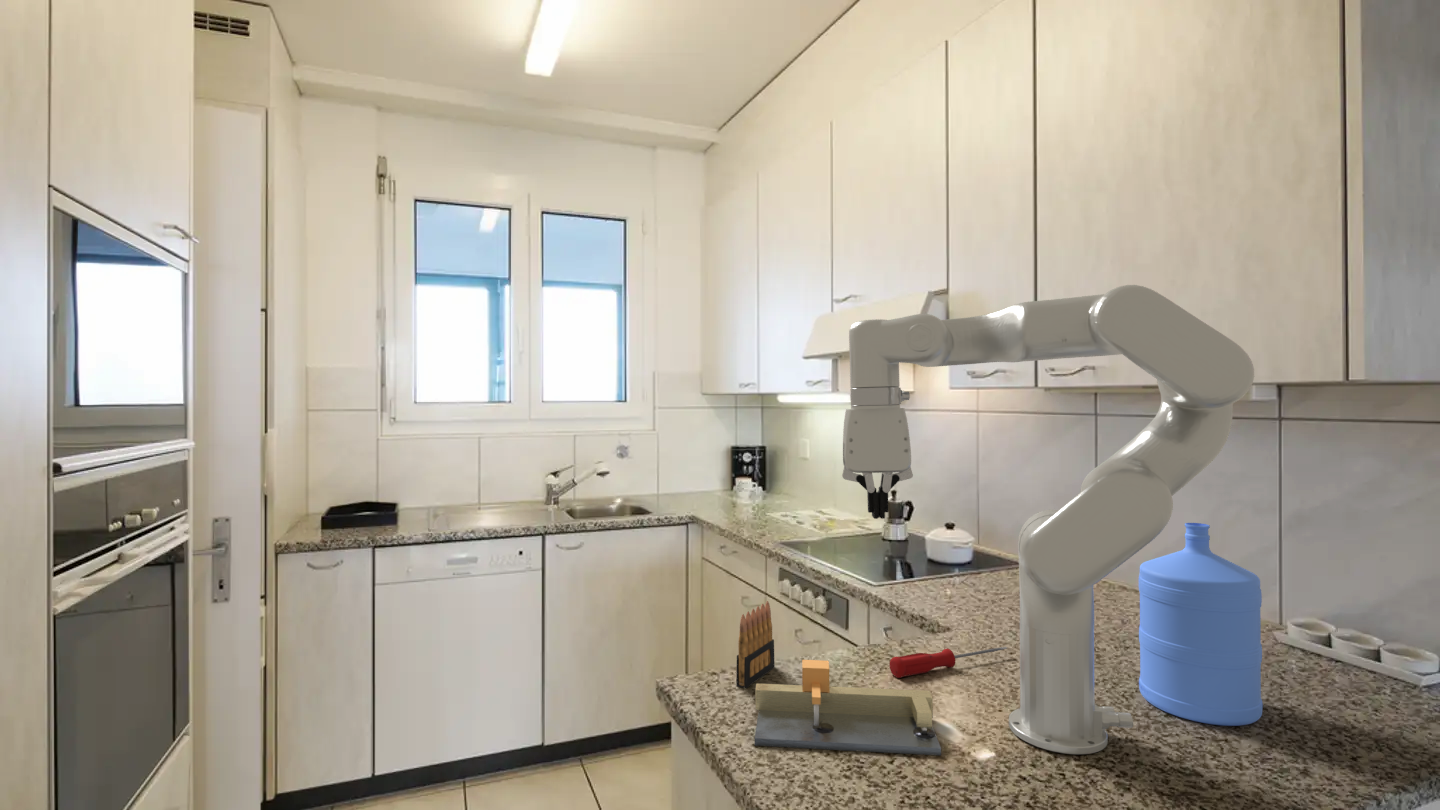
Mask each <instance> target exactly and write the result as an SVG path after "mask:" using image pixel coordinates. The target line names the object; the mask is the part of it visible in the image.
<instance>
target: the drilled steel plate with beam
mask: <svg viewBox="0 0 1440 810" xmlns="http://www.w3.org/2000/svg"><path fill="white" fill-rule="evenodd" d="M829 689H830V692H820V694H821V705H819V726H815V725H814V704H812V692H811V691H802V684H799V685H797V684H782V683H781V684H777V683H755V692H754V693H755V695H754V696H755V697H754V699H755V710H756V711H758V713H757V720H756V727H755V733H754V746H759V747H777V748H794V749H795V748H798V749H813V750H814V749H815V750H830V751H831V750H834V751H850V752H852V751H853V752H872V753H888V754H891V753H892V754H904V755H905V754H907V755H911V754H912V755H923V754H924V755H926V756H942V747H941V745H940V742H939V740H938V736H937V735H936V732H935V729H934V727H933V717H934V716H933V712H934V711H933V707H934V706H933V696H932V693H931V691H930V690H924V689H923V690H921V689H898V688H897V689H896V688H894V689H893V688H873V687H852V686H851V687H848V686H845V687H844V686H829Z"/></svg>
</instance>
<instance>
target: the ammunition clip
mask: <svg viewBox="0 0 1440 810" xmlns="http://www.w3.org/2000/svg"><path fill="white" fill-rule="evenodd" d="M738 632H739V633H738V635H739V636H738V643H737V644H738V654H737V655H736V675H735V676H736V680H735V681H736V682H735V683H736V685H735V686H736V687H738V688H743V689H747V688H749V687H750V686H751V685H753V684H754V683H755V682H757V681H759V680H760V679H761V678H762V677H764V676H765V675H766V674H767V673H769V672H771V671H772V670H773V669H774V668H775V640H774V639H773V624H772V612H771V606H770V603H769V601H768V600H767V601H765V604H764V603H761V605H760V606H759V605H757V607H756V609H755V608H752V610H751V612H750V611H747V613H746V615H744V613H742V614H741V617H740V621H739V631H738Z"/></svg>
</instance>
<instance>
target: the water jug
mask: <svg viewBox="0 0 1440 810" xmlns="http://www.w3.org/2000/svg"><path fill="white" fill-rule="evenodd" d="M1184 527H1185V533H1184V538H1185V545H1184V546H1185V547H1184V548H1183V549H1182V550H1178V551H1176V552H1175V551H1174V552H1172V553H1167V554H1165V555H1162V556H1158V557H1156V558H1152V559H1149V560H1146V561H1143V562H1142V563H1141V564H1140V565H1139V574H1138V591H1139V626H1138V641H1139V654H1140V655H1139V656H1140V657H1139V659H1140V660H1139V663H1140V665H1139V667H1140V668H1139V673H1140V674H1139V677H1138V678H1139V679H1138V687H1139V688H1138V689H1139V692H1140V694H1141V696H1142V697H1143V698H1144V699H1145V700H1146V701H1147V702H1148V703H1150V704H1151V705H1152V706H1153V707H1156V708H1157V709H1159V710H1161V711H1164V712H1165V713H1168V714H1170V715H1173V716H1176V717H1179V718H1182V719H1185V720H1190V721H1193V722H1197V723H1202V724H1208V725H1215V726H1224V727H1225V726H1226V727H1227V726H1228V727H1232V726H1233V727H1237V726H1238V727H1239V726H1246V725H1250V724H1253V723H1255V722H1257V721H1258V720H1259V719H1260V718H1261V717H1262V715H1263V707H1264V706H1263V705H1264V704H1263V703H1264V702H1263V699H1262V684H1261V683H1262V682H1261V681H1262V676H1261V675H1262V673H1261V671H1262V669H1261V665H1262V661H1263V646H1262V642H1261V641H1262V640H1261V639H1262V637H1261V636H1262V634H1261V633H1262V631H1261V629H1262V628H1261V627H1262V625H1261V622H1262V621H1261V620H1262V618H1261V608H1262V602H1263V596H1262V595H1263V594H1262V589H1261V579H1260V577H1259V576H1258V575H1257V574H1255V573H1254V572H1252V571H1250V570H1249V569H1246V568H1244V567H1242V566H1240V565H1239V564H1236V563H1234V562H1232V561H1230V560H1227V559H1225V558H1224V557H1222V556H1220V555H1217V554H1215V553H1213V551H1212V550H1211V549H1210V538H1211V537H1210V535H1209V530H1210V527H1211V526H1210V525H1209V524H1206V523H1199V522H1185V523H1184Z"/></svg>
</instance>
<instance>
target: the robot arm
mask: <svg viewBox="0 0 1440 810" xmlns="http://www.w3.org/2000/svg"><path fill="white" fill-rule="evenodd" d="M848 342H849V343H848V344H849V345H848V346H849V347H848V349H849V380H850V381H849V383H850V384H849V386H850V387H849V388H850V409H849V408H847V409H846V408H845V413H844V414H845V415H844V421H843V429H842V431H843V434H842V435H843V436H842V465H843V469H842V470H843V471H842V475H841V476H842V477H841V478H842V479H844V480H847V481H850V482H855V483H859V484H860V486H861V487H862V488H864V490H866V493H867V512H868V513H869V514H870V513H871V517H872V518H873V519H879V518H880V519H882V520H883V519H884V520H885V519H886V513H889V510H890V509H889V493H890V492H891V489H892V488H893V487H895V485H896V484H897V483H898V482H902V481H906V480H910V479H912V478H913V476H914V474H913V470H912V450H911V448H912V447H911V439H910V432H909V431H910V430H909V423H908V418H907V413H906V409H905V407H901V405H902V403H903V402H904V401H910V398H911V397H910V396H911V395H910V391H905V390H903V389H902V388H901V387H900V363H902V364H903V363H904V364H912V365H913V364H914V365H918V366H921V367H924V368H925V367H926V368H935V367H936V368H937V367H946V366H948V367H950V366H958V365H959V366H960V365H962V366H963V365H975V364H986V363H987V364H989V363H1019V362H1020V363H1022V362H1032V361H1036V362H1037V361H1048V360H1060V359H1074V358H1089V357H1091V358H1093V357H1105V356H1115V355H1116V356H1118V355H1119V356H1120V355H1122V356H1123V357H1125V358H1126V359H1128V360H1129V361H1131V362H1132V363H1133V364H1135V365H1136V366H1137V367H1139V368H1140V369H1142V370H1143V371H1144V372H1146V373H1148V374H1149V375H1151V376H1152V377H1154V378H1155V379H1156V383H1157V387H1158V390H1159V394H1160V405H1159V408H1158V411H1157V413H1156V415H1155V416H1154V417H1153V419H1152V420H1151V421H1150V422H1149V423H1148V424H1147V425H1146V426H1145V427H1144V428H1143V429H1142V430H1140V432H1138V433H1137V434H1136V435H1135V436H1134V437H1133V438H1132V439H1131V440H1130V441H1128V442H1127V443H1126V444H1125V445H1123V446H1122V447H1121V448H1119V449H1118V450H1117V451H1116V452H1115V453H1113V454H1112V455H1111V456H1109V457H1108V458H1107V459H1106V460H1104V461H1103V462H1101V464H1098V466H1096V467H1095V468H1093V469H1092V470H1091V471H1089V472H1088V473H1087V475H1086V476H1085V477H1084V479H1083V481H1082V483H1081V485H1080V492H1079V493H1077V494H1076V495H1075V496H1074V497H1073V498H1072V499H1070V500H1069V501H1068V502H1067V503H1066V504H1065V505H1063V506H1062V507H1061V508H1059V509H1044V510H1041V511H1039V512H1036V513H1034V514H1033V515H1031V516H1030V517H1029V518H1028V519H1027V520H1026V521H1025V522H1024V523H1023V525H1022V526H1021V529H1020V531H1019V535H1018V541H1017V550H1018V551H1017V553H1018V556H1017V557H1018V577H1019V578H1018V580H1019V581H1018V583H1019V688H1020V689H1019V691H1020V692H1019V694H1020V695H1019V697H1020V698H1019V701H1020V702H1019V703H1020V705H1019V706H1020V707H1019V708H1016V709H1014V710H1013V711H1012V712H1011V713H1010V714H1009V716H1008V727H1009V729H1010V731H1011V732H1012V733H1014V735H1015V736H1017V737H1018V738H1019V739H1021V740H1022V741H1024V742H1026V743H1028V744H1030V745H1031V746H1032V745H1033V746H1035V747H1037V748H1040V749H1043V750H1047V751H1050V752H1054V753H1060V754H1067V755H1088V754H1089V755H1090V754H1094V753H1098V752H1100V751H1102V750H1104V749H1105V748H1107V745H1108V743H1109V742H1108V737H1109V735H1108V733H1107V730H1108V729H1109V728H1110V727H1118V728H1126V729H1127V728H1128V729H1132V728H1133V727H1134V720H1133V719H1134V718H1133V715H1132V714H1131V713H1130V712H1122V711H1121V712H1117V711H1115V708H1114V707H1113V706H1107V705H1106V706H1105V705H1103V706H1098V705H1097V703H1095V598H1094V597H1095V593H1094V585H1096V584H1097V583H1099V582H1100V581H1102V580H1103V579H1104V578H1105V577H1107V576H1109V574H1111V573H1112V572H1114V570H1116V569H1117V568H1119V567H1120V566H1121V565H1123V564H1124V563H1125V562H1126V561H1128V560H1129V559H1131V558H1132V557H1133V556H1134V555H1136V554H1137V553H1138V552H1140V551H1141V550H1142V549H1144V548H1145V547H1146V546H1147V545H1149V544H1150V543H1151V542H1152V541H1154V540H1155V538H1157V537H1158V536H1159V535H1160V534H1161V533H1162V531H1163V530H1164V529H1165V528H1166V526H1167V525H1168V524H1169V522H1170V520H1171V518H1172V513H1173V510H1174V509H1173V508H1174V503H1173V502H1174V501H1173V496H1174V495H1175V494H1177V493H1178V492H1179V491H1180V490H1181V489H1184V487H1185V486H1186V485H1187V484H1188V483H1190V482H1191V481H1192V480H1193V479H1194V478H1195V477H1196V476H1198V475H1199V474H1200V473H1201V472H1202V471H1203V470H1205V469H1206V468H1207V467H1208V466H1210V464H1211V463H1212V462H1213V461H1214V460H1215V459H1216V458H1217V456H1219V454H1220V453H1221V451H1222V449H1223V448H1224V446H1225V445H1226V443H1227V441H1228V439H1229V438H1228V437H1229V435H1230V432H1231V428H1232V424H1233V416H1234V415H1233V414H1234V408H1233V407H1234V406H1233V405H1234V403H1236V402H1238V401H1239V400H1241V399H1242V398H1243V397H1245V395H1246V394H1247V393H1248V392H1249V391H1250V389H1251V387H1252V385H1253V383H1254V379H1255V368H1254V364H1253V361H1252V359H1251V358H1250V355H1249V354H1248V353H1247V352H1246V351H1245V350H1244V348H1243V347H1241V346H1240V345H1239V344H1238V343H1237V342H1235V341H1233V339H1231V338H1230V337H1227V336H1226V335H1225V334H1223V333H1222V332H1219V331H1218V330H1217V329H1215V328H1213V327H1212V326H1210V325H1209V324H1207V323H1206V322H1204V321H1202V320H1201V319H1199V318H1198V317H1196V316H1195V315H1193V314H1192V313H1190V312H1189V311H1187V310H1186V309H1184V308H1183V307H1181V306H1179V305H1178V304H1176V303H1175V302H1174V301H1172V300H1170V299H1169V298H1167V297H1166V296H1164V295H1162V294H1161V293H1158V292H1157V291H1155V290H1153V289H1152V288H1149V287H1146V286H1144V285H1137V284H1127V285H1121V286H1117V287H1116V288H1113V289H1111V290H1109V291H1108V292H1106V293H1103V294H1094V295H1093V294H1092V295H1085V296H1077V297H1066V298H1055V299H1043V300H1033V301H1023V302H1020V303H1015V304H1013V305H1010V306H1008V307H1005V308H1003V309H1001V310H999V311H998V310H997V311H994V312H992V313H986V314H982V315H975V316H969V317H968V316H967V317H959V318H949V319H940V318H939V317H937V316H935V315H932V314H928V313H918V314H912V315H907V316H902V317H898V318H893V319H892V318H891V319H881V318H880V319H879V318H878V319H875V318H874V319H865V320H859V321H856V322H853V323H852V324H851V326H850V327H849V329H848ZM874 473H877V474H879V473H880V474H881V476H880V483H879V487H878V490H877V488H876V486H875V482H874V476H873V474H874Z"/></svg>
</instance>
